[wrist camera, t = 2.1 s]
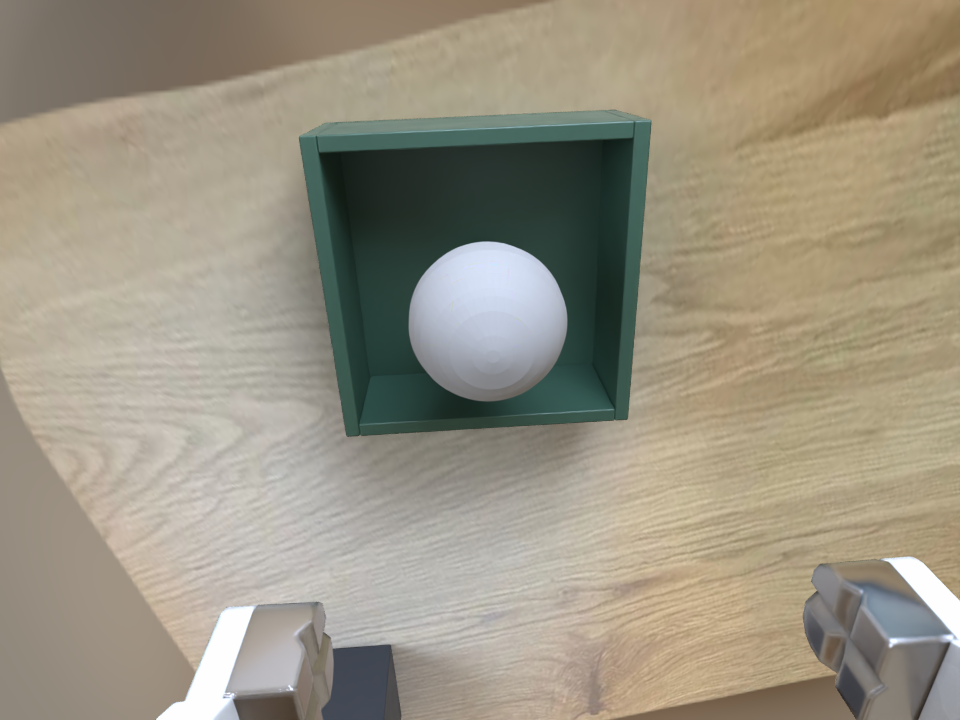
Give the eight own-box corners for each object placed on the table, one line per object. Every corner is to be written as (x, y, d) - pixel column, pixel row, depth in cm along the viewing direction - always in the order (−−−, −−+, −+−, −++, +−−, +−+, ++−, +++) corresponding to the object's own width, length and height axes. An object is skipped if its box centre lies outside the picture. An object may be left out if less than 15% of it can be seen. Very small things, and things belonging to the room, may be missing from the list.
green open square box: (360, 382, 31) (346, 437, 26) (324, 122, 25) (298, 136, 21) (601, 368, 31) (628, 420, 27) (615, 109, 26) (652, 119, 21)
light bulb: (560, 238, 28) (616, 323, 19) (498, 336, 29) (521, 456, 20) (454, 176, 26) (458, 236, 17) (396, 283, 28) (373, 387, 19)
